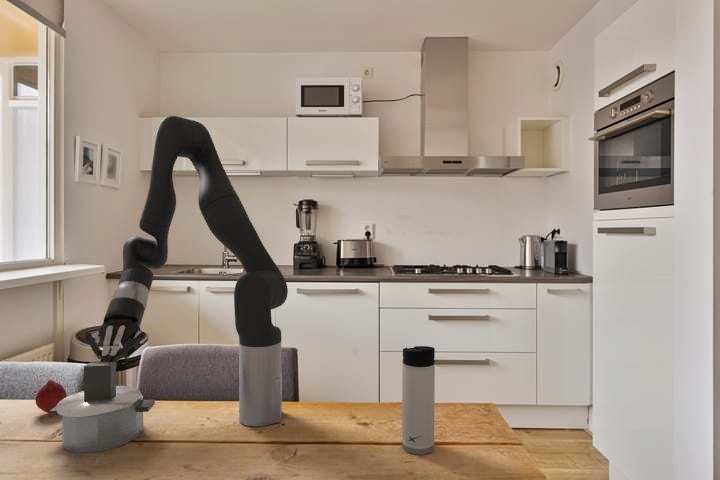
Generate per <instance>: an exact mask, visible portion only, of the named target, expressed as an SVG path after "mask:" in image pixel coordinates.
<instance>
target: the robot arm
mask: <svg viewBox="0 0 720 480" xmlns="http://www.w3.org/2000/svg"><path fill="white" fill-rule="evenodd" d="M178 157H180V158H185V159H188V160H189V161H190V162H191V163H192V165H193V167H194V169H195V170H196V173H197V175H198V177H199V189H198V198H197V201H198V208H199V210H200V212H201V215H202V217H203V219H204V221H205V223H206V225H207V227H208V228H209V231H211V233H212V235H213V236H214V237H215V238H216V239H217V240H218V241H219V242H220V243H221V244H222V245H223V246H224V247H225V248H226V249H227V250H229V251H230V253H232V254H233V255H234V256H235V257H236V258H237V260H238V261H239V262H240V263H241V265H242V268H243V269H244V271H245V273H243V274H241V275H240V277H238V279H237V280H236V283H235V286H234V291H233V306H234V322H235V324H234V325H235V330H236V332H237V336H238V338H239V339H238V342H239V343H238V347H239V348H238V351H239V352H238V356H239V358H238V359H239V360H238V361H239V362H238V363H239V365H238V367H239V368H238V369H239V370H238V373H239V376H238V377H239V378H238V384H239V385H238V388H239V389H238V391H239V393H238V394H239V395H238V396H239V397H238V403H239V404H238V405H239V406H238V407H239V409H238V413H239V415H238V416H239V417H238V419H239V422H240V423H241V424H242V425H245V426H247V427H265V426H269V425H272V424H273V425H274V424H276V423H277V424H278V423H281V421H282V413H283V372H282V331H281V330H282V329H281V328H280V327H278V326H276V325H274V324H273V321H272V310H274V309H277V308H279V307H282V305H283V304H284V303H286V300H287V299H288V294H289V293H288V291H289V289H288V284H287V283H288V282H287V281H286V278H285V277H284V275H283V274H282V272H281V270H280V269H279V267H278V266H277V264H276V263H275V261H274V259H273V258H272V257H271V255H270V254H269V252H268V251H267V249H266V247H265V246H264V244H263V241H262V240H261V238H260V236H259V234H258V232H257V230H256V229H255V226H254V225H253V223H252V222H251V219H250V217H249V215H248V213H247V210H246V208H245V207H244V205H243V203H242V201H241V199H240V197H239V195H238V194H237V192H236V190H235V187H234V186H233V185H232V182H231V180H230V179H229V177H228V174H227V172H226V171H225V168H224V166H223V163H222V162H221V159H220V156H219V154H218V151H217V149H216V146H215V143H214V140H213V139H212V137H211V134H210V132H209V130H208V129H207V127H206V126H205V125H204V124H202V123H201V122H199V121H196V120H193V119H189V118H186V117H181V116H176V115H169V116H165V118H163V119H162V120H161V121H160V123H159V125H158V127H157V130H156V135H155V139H154V147H153V155H152V162H151V163H152V164H151V171H150V181H149V185H148V186H149V188H148V191H147V195H146V200H145V203H144V206H143V210H142V213H141V216H140V220H139V223H138V224H139V225H138V226H139V228H140V230H141V231H142V232H144V233H146V234H147V235H149V236H151V237H153V238H154V239H155V240H152V239H148V238H144V237H143V236H142V237H141V236H131V237H129V238H128V239H127V240H126V241H125V242H124V244H123V248H122V271H121V275H120V279H119V280H118V283H117V286H116V288H115V289H114V292H113V293H112V296H111V299H110V302H109V304H108V307H107V310H106V312H105V314H104V317H103V321H102V323H101V325H100V326H99V327H98V330H97V331H96V332H93V333H90V332H89V333H86V334H85V336H84V338H85V340H86V341H87V343H88V345H89V347H90V348H91V350H92V351H93V353H94V355H95V356H96V358H97V359H98V360H100V361H99V362H116V366H117V364H118V362H119V361H120V360H121V359H128V358H130V356H132V355H133V354H134V353H135V352H137V350H139V349H140V348H141V347H142V346H144V345H145V344H146V343H147V342H148V341H149V339H148V337H147V334H146V333H145V332H143V331H142V330H141V327H140V326H141V324H142V321H143V317H144V315H145V311H146V309H147V306H148V301H149V294H150V290H151V287H152V283H153V282H154V281H153V279H154V273H153V272H152V270H151V269H153V270H158V269H159V270H160V269H161V268H163V267H164V266H165V265H166V263H167V261H168V257H169V254H168V253H169V249H168V248H169V247H168V245H169V243H168V242H169V234H170V233H169V232H170V227H171V225H172V221H173V218H174V215H175V212H176V207H177V195H176V190H175V186H174V181H173V179H174V178H173V172H174V167H175V164H176V162H177V159H178ZM100 338H101V340H102V341H103V347H102V349H101V347H99V345H98V344H99V342H100Z"/></svg>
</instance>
